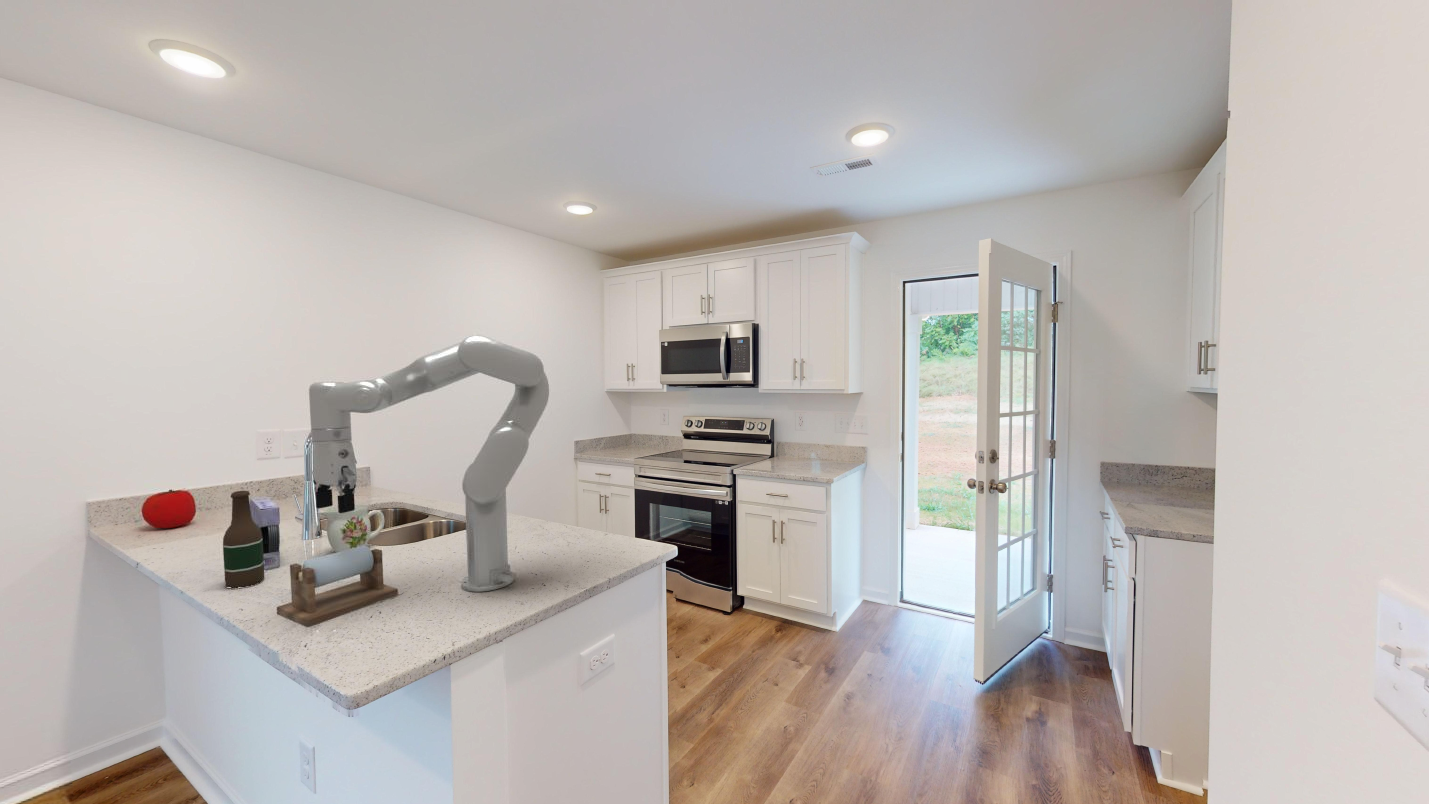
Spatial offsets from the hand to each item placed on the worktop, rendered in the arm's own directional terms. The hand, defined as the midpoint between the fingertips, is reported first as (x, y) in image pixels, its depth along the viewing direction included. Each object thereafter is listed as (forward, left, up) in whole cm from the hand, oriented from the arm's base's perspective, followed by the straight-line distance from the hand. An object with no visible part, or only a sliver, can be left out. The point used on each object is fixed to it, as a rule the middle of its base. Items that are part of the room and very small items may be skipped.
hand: (335, 509), depth 125 cm
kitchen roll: (+1, 0, -16) cm, 16 cm away
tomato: (+130, -6, -22) cm, 132 cm away
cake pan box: (+51, -5, -22) cm, 56 cm away
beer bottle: (+36, +5, -22) cm, 43 cm away
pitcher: (+40, -23, -22) cm, 51 cm away
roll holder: (0, 0, -22) cm, 22 cm away
